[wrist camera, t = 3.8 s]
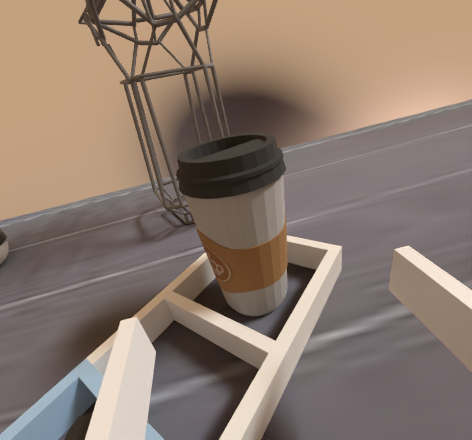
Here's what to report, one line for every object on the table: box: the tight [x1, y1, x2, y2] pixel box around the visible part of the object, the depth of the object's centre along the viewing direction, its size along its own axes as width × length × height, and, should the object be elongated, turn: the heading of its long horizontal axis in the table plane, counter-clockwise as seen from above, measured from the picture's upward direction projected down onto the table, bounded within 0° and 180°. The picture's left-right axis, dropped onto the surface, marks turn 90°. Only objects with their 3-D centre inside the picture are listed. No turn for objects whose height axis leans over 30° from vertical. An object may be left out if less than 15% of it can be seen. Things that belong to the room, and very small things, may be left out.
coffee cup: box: [176, 133, 288, 316], centre depth 22 cm, size 8×8×15 cm
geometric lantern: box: [79, 0, 230, 224], centre depth 37 cm, size 16×16×35 cm
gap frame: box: [0, 236, 342, 440], centre depth 18 cm, size 13×33×3 cm, turn 144°
